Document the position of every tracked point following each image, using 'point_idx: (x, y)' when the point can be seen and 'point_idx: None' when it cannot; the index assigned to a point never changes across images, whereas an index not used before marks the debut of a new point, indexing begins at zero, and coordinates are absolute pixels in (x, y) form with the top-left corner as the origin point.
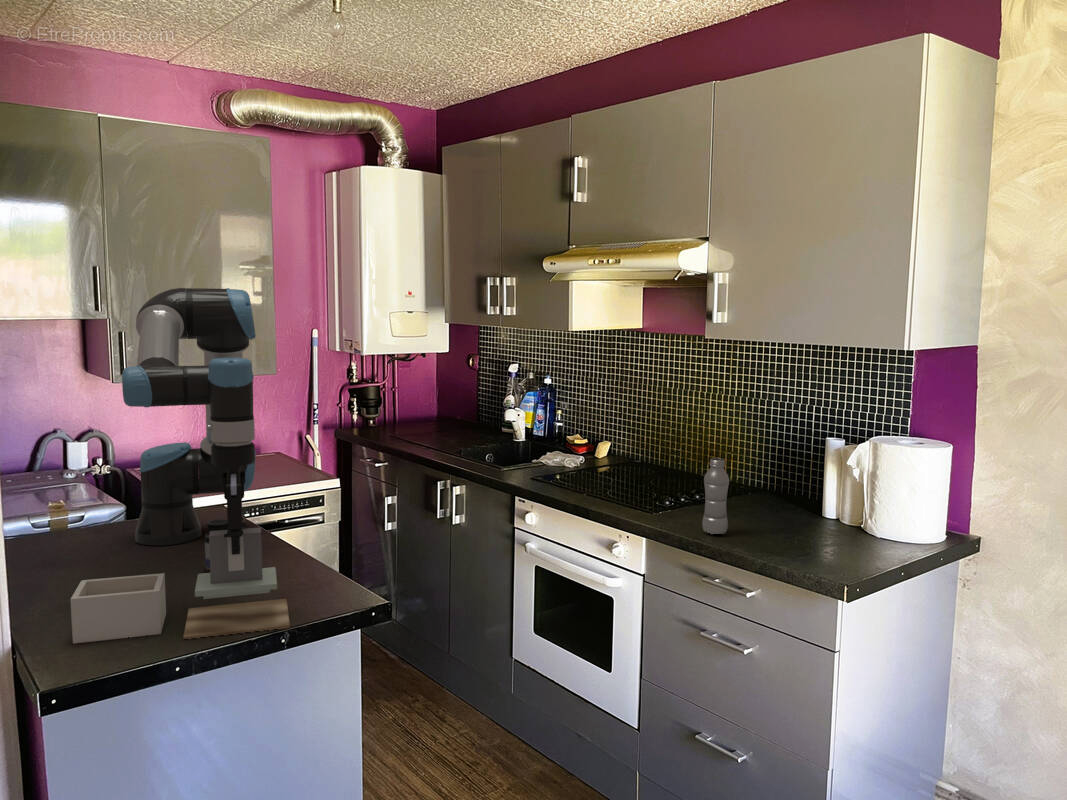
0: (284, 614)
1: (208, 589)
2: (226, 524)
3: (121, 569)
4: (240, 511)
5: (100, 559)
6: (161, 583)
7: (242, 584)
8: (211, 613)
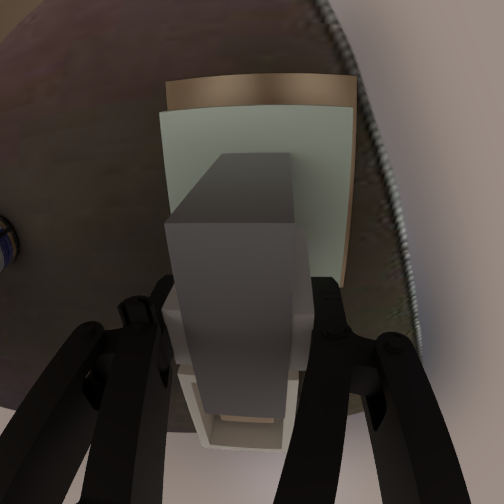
0: (280, 82)
1: None
2: None
3: (29, 353)
4: (453, 462)
5: (11, 366)
6: None
7: (323, 215)
8: None
